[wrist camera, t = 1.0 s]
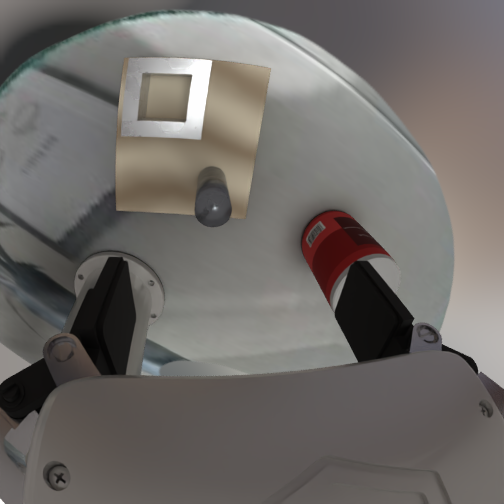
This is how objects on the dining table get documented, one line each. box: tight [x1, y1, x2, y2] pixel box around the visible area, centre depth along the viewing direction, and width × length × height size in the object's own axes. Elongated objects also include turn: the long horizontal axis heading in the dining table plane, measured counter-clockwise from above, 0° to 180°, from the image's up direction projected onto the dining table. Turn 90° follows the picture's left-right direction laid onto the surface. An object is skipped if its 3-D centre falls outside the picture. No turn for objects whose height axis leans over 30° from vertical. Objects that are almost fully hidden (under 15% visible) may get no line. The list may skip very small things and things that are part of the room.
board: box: [116, 57, 271, 219], centre depth 26 cm, size 16×14×1 cm
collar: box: [121, 58, 212, 140], centre depth 22 cm, size 7×7×4 cm
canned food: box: [302, 211, 401, 313], centre depth 30 cm, size 8×8×11 cm
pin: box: [194, 166, 232, 227], centre depth 25 cm, size 3×3×8 cm
